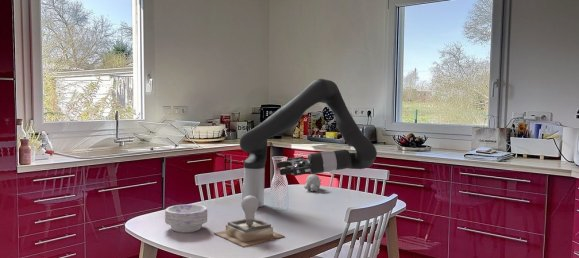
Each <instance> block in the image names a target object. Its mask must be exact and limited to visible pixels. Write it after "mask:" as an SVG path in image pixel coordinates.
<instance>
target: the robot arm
mask: <svg viewBox="0 0 579 258" xmlns="http://www.w3.org/2000/svg"><path fill="white" fill-rule="evenodd" d="M318 103H322V104H326V105H327V106H328V107H329V108H330V110H331V112H332V114H333V115H334V119H335V122H336V123H335V124H336V127H337V129H338V131H339V134H340V135H341V136H342V139H343V140H344V142H345V143H346V144H347V145H348V146H349V147H351V148H352V147H353V148H354V150H355V152H350V151H349V150H347V149H340V150H331V151H330V150H328V151H318V152H314V153H308V155H307V158H305V159H304V156H297V157H288V158H287V160H283V161H277V162H276V168H277V169H279V174H280V175H281V176H285V175H293V176H295V177H297V176H302V175H303V176H304V175H311V174H315V175H317V174H323V173H330V172H333V171H337V170H344V169H348V170H349V169H351V170H352V169H354V170H364V169H369V168H370V167H372V165H373V164H374V162H375V160H376V158H377V155H378V154H377V153H378V152H377V148H376V146H375V145H374V144H373V143H372V141H371V140H370V139H369V138H368V137H367V136H366V135H364V133H363V132H362V131H361V129H360V127H359V126H358V124H357V123H356V121H355V120H354V118H353V116H352V115H351V112H350V111H349V109H348V107H347V105H346V103H345V100H344V98H343V95H342V94H341V91H340V89H339V87H338V84H336V83H335V82H334V81H332V80H329V79H325V78H317V79H315V80H313V81H312V82H310V83H309V84H308V85H307V86H306V87H305V88H304V89H303V90H302V91H301V92H300V93H298V95H296V96H295V97H294V98H292V99H291V100H290V101H288V102H287V103H286V104H284V105H283V106H281V107H280V108H278V109H277V110H276V111H274V112H273V113H272V114H271V115H270V116H268V117H267V118H265V120H263V121H262V122H261V123H260V124H258V125H256V126H255V127H254V128H253V127H252V129H250V130H248V131H246V132H245V133H243V134H242V136H241V137H240V139H239V147H240V148H241V150H242V151H244V152H245V153H248V154H249V155H248V157H247V158H246V159H245V160H244V161H243V183H242V184H241V186H242V187H241V188H242V189H241V190H242V193H241V195H242V196H241V201H242V200H243V199H244V198H245V197H246V196H249V195H251V196H254V197H256V198H257V200H258V202H259V206H258V208H262V207H264V204H265V165H266V162H267V154H268V140H269V139H270V138H273V137H275V136H277V135H281V134H283V133H284V132H286V131H288V130H290V129H291V128H293V127H294V126H295V125H297V124H298V123H299V122H300V120H301V119H302V117H303V115H304V113H305V112H306V111H307V110H308V109H310V108H311V107H313V106H314V105H316V104H318Z"/></svg>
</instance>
